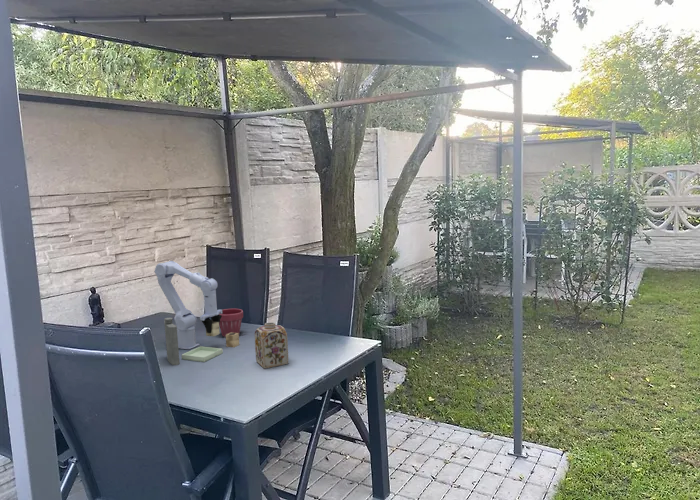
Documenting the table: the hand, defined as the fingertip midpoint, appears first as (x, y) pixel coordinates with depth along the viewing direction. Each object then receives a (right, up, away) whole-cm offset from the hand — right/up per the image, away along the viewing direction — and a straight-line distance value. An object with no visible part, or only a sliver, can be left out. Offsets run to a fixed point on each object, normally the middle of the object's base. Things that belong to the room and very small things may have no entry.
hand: (212, 331), depth 253 cm
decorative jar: (+33, -11, -23) cm, 41 cm away
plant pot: (+3, -6, +24) cm, 25 cm away
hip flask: (-15, -11, -15) cm, 23 cm away
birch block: (0, -2, 0) cm, 2 cm away
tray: (-2, -10, -10) cm, 14 cm away
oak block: (+9, -8, +4) cm, 13 cm away
